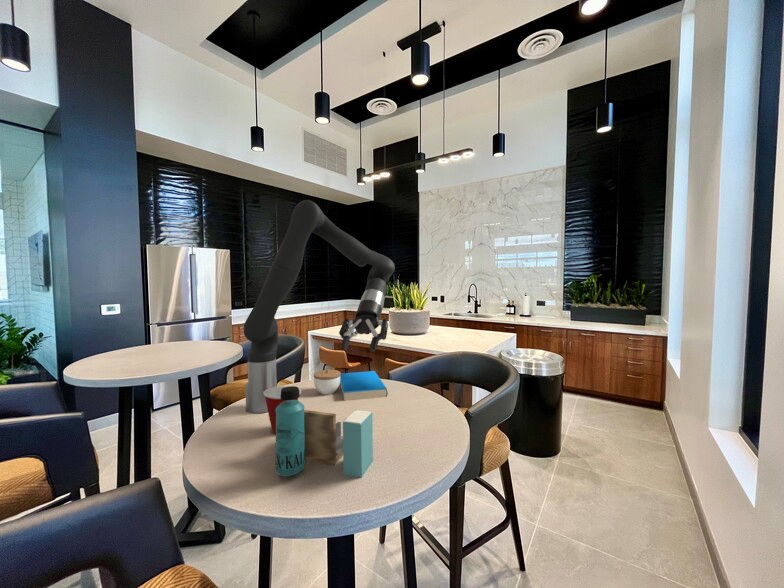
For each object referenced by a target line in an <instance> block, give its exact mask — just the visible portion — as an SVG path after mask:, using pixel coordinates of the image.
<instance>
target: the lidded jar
mask: <svg viewBox="0 0 784 588" xmlns="http://www.w3.org/2000/svg"><path fill="white" fill-rule="evenodd" d="M340 375H341V371H339V370H338V369H337V370H336V369H329V368H326V369H323V370H319V371H316V372H314V373H313V382H314V387H315V389H316V390H317V391H318V392H319V394H320V395H324V396H325V395H333V394H335V393H336V391H337V390H338V388H339V387H340V386H341V385H340Z"/></svg>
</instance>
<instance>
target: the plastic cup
mask: <svg viewBox="0 0 784 588" xmlns="http://www.w3.org/2000/svg"><path fill="white" fill-rule="evenodd" d="M285 387H289V386H284V385H283V386H282V385H281V386H277V387H273V388H269V389H267V390H265V391H264V392H263V394H264V396H265V400H266V404H267V409H268V412H267V413H268V419H269V423H270V426H271V432H272V433H273V434H274V435H276V408H277V406H278V405H279V404H280V403H282V402H284V401H287V400H282V399H281V398H280V396H281V389H282V388H285ZM301 393H302V390H301V389H300V388H299V394H300V395H301ZM294 400H298V401H299V398H297V399H294Z"/></svg>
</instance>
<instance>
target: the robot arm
mask: <svg viewBox="0 0 784 588" xmlns="http://www.w3.org/2000/svg"><path fill="white" fill-rule="evenodd" d="M312 233H313V234H315V235H316V236H318V237H320V238H322V239H323V240H325V241H326V242H327V243H329V244H331V246H333V247H334V248H335V249H336V250H337V251H338V252H340V254H342V255H343V256H345V257H346V258H347V259H348V260H349V261H351V262H353V263H354V264H355V265H356V266H358V267H361V268H363V267H365V266H366V265H367V264H368V265H371V268H370V270H369V273H368V275H367V281H366V286H365V288H364V292H363V294H362V295H361V298H360V301H359V304H358V307H357V310H356V313H355V317H354V319H353V320H351V319H350V320H349V318H348V317H347V318H345V319H343V322H342V324H341V328H340V329H339V332H338V334H339V336H340V338H341V339H342V342H341V344H340V345H341V348H342V350H343V351H345V352H346V351H348V347H349V345H350V341H351V339H352V338H354V337H357V336H358V335H370V334H372V337H371V342H370V345H369V350H370V352H372V353H374V352H375V351H376V350H377V349H378V345H379V341H382V340H383V341H384V340H386V339H387V335H388V329H389V323H388V321H387V318H383V319H382V320H381V316H382V313H383V309H384V303H385V298H386V294H387V290H388V286H387V281H388V280H389V278H391V276H392V275H393V274H394V272H395V270H396V267H395V263H394V262H393V260H392V259H390V257H388V256H386V255H384V254H381V253H378V252H376V251H375V250H371V249H369V248H368V247H367V246H366V245H364V243H362V242H360V241H359V240H358V239H356V238H355V237H354V236H352V235H350V234H349V233H347V232H345V231H344V230H342V229H340V228H339V227H338V226H336V225H335V224H334V223H333V222H332V221H331V220H330V219H329V218H328V217H327V216H326V215H325V214H324V212H323V211H322V209H321V208H320V206H318V204H316V202H314V201H313V200H310V199H306V200H305V199H304V200H302V201H300V202H298V203H297V204H296V205H295V207H294V209H293V211H292V214H291V218H290V221H289V224H288V228H287V230H286V233H285V236H284V238H283V240H282V242H281V244H280V246H279V249H278V251H277V253H276V255H275V257H274V259H273V262H272V264H271V266H270V268H269V271H268V273H267V276H266V278H265V281H264V283H263V285H262V287H261V291H260V293H259V296H258V298H257V299H256V302H255V304H254V305H253V307H252V309H251V311H250V313H249V314H248V315H247V318H246V320H245V321H244V325H243V330H242V331H243V334H244V335H243V336H244V337H245V338H246V339H247V340H248V341H249V342H251V344H250V348H249V351H248V353H247V382H246V383H245V410H246V412H249V413H253V414H264V413H268V409H267V404H266V400H265V396H264V394H263V392H264V391H265V390H267V389H269V388H273V387H278V384H277V382H278V381H277V352H278V346H279V344H278V343H279V341H278V340H279V328H278V327H279V326H278V321H277V319H276V318H275V316H276V315H277V314H276V313H277V311H278V309H279V307H280V306H281V304H282V303H283V301H284V300H285V299H286V297H287V296H288V294H290V292H291V290H292V288H293V287H294V285H295V283H296V281H297V278H298V276H299V274H300V271H301V269H302V265H303V260H304V255H305V248H306V245H307V243H308V240H309V238H310V236H311V234H312ZM379 326H380V332H377V331H376V329H377V328H378V327H379Z"/></svg>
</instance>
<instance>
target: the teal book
mask: <svg viewBox="0 0 784 588" xmlns="http://www.w3.org/2000/svg"><path fill="white" fill-rule="evenodd" d="M373 426H374V425H373V412H371V411H367V410H366V411H365V410H360V409H359V410H358V409H355V411H354V412H352V413H351V414H350V415H349V416H348V417H347V418H346V419H345V420H344V421H343V422H342V436H343V456H342V458H343V459H342V461H343V464H342V465H343V467H342V469H343V471H342V472H343V475H345V476H351V477H355V478H361V479H362V478H363V477H364V475H365V474H366V472H367V471H368V470H369V468H370V466H371V465H372V463H373V462H374V452H373V451H374V447H373V446H374V442H373V441H374V439H373V438H374V435H373V431H374V430H373V428H374V427H373Z"/></svg>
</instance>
